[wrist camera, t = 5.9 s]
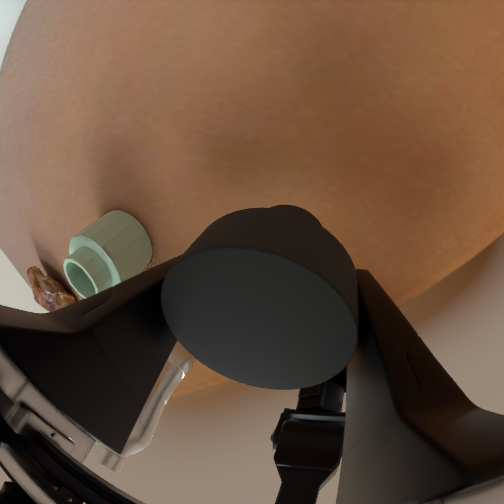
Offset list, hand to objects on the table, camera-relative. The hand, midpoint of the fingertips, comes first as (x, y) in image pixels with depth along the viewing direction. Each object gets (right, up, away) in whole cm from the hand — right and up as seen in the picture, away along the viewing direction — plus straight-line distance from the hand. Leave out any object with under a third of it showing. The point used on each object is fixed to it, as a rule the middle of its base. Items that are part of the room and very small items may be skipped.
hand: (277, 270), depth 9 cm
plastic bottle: (-10, -11, +25) cm, 29 cm away
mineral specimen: (-35, -6, +30) cm, 47 cm away
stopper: (+1, +1, +2) cm, 2 cm away
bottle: (-14, +2, +18) cm, 23 cm away
